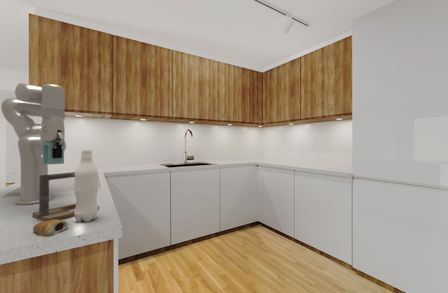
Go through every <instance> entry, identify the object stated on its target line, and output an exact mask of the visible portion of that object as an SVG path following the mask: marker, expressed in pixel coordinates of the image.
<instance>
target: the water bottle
mask: <svg viewBox="0 0 448 293" xmlns="http://www.w3.org/2000/svg"><path fill="white" fill-rule="evenodd" d="M80 158H81V159H80V162H79V164H78V166H77V167H76V169H75V171H74V172H75V177H74V190H73V192H74V195H75V203H76V207H75V209H74V210H73V211H74V219H75V220H76V222H78V223H81V222H82V221H84V222H86V223H87V222H91V221H92V220H95V219H97V217H98V214H99V210H98V207H97V206H98V203H97V201H98V200H97V198H98V192H99V182H98V181H99V170H98V168H97V166H96V165H95V162H93V154H92V150H81V155H80Z"/></svg>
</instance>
